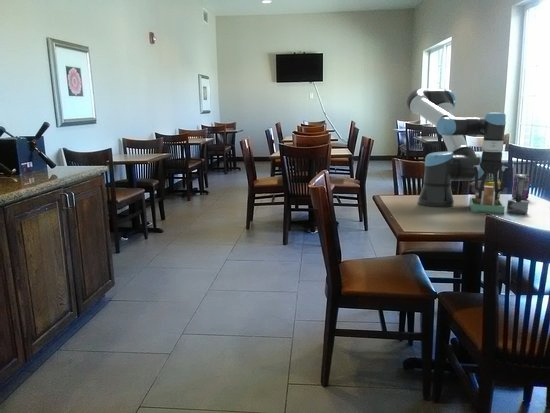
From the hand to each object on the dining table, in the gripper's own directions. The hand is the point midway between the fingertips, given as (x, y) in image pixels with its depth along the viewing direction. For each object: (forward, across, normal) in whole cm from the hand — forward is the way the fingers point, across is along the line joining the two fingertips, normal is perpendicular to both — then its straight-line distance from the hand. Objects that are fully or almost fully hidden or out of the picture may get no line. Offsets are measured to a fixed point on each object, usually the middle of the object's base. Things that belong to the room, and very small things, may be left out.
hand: (486, 206), depth 194 cm
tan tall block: (-1, 0, +4) cm, 4 cm away
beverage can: (+2, +18, +39) cm, 43 cm away
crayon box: (+2, +4, +22) cm, 23 cm away
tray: (+2, 0, +4) cm, 5 cm away
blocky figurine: (+2, +12, 0) cm, 12 cm away
